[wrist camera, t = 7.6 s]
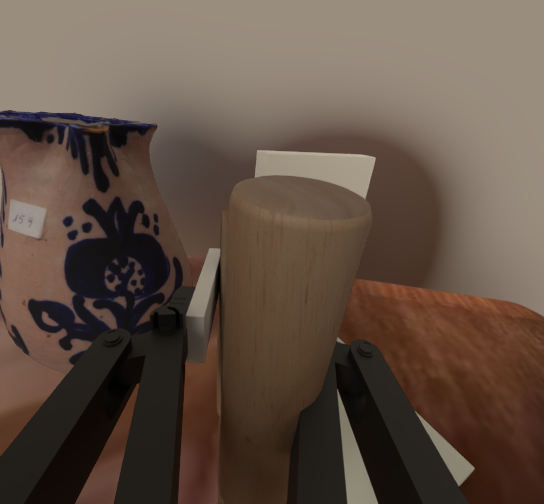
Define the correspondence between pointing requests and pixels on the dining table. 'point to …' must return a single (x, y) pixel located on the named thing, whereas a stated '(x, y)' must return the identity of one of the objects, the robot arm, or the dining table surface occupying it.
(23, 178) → the ceramic pitcher
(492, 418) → the dining table surface
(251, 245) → the wooden block
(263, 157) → the white l-shaped bracket
